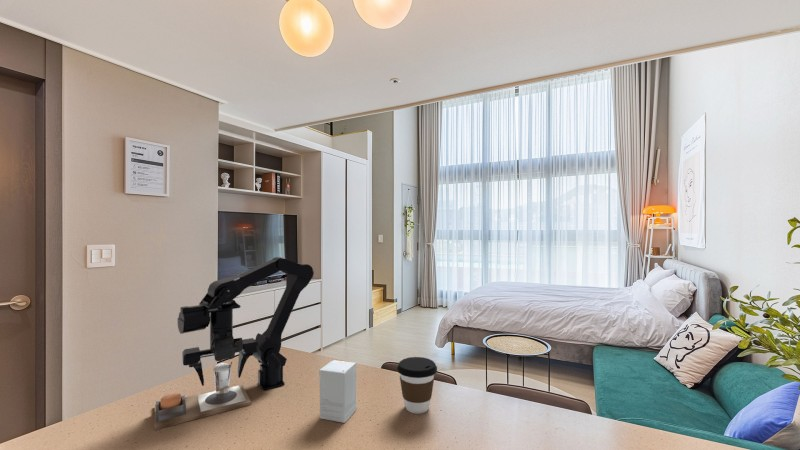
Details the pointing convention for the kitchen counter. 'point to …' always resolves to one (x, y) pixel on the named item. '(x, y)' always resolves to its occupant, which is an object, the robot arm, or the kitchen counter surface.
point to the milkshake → (222, 380)
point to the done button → (170, 401)
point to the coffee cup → (417, 382)
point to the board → (200, 407)
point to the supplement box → (338, 391)
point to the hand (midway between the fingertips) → (221, 381)
